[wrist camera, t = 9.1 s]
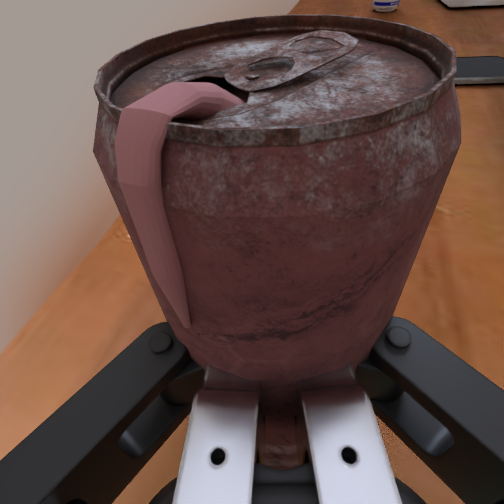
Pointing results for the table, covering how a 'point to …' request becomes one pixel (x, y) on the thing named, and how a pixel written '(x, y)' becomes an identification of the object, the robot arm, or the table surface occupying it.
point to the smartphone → (479, 70)
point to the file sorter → (472, 3)
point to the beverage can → (385, 5)
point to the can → (279, 186)
